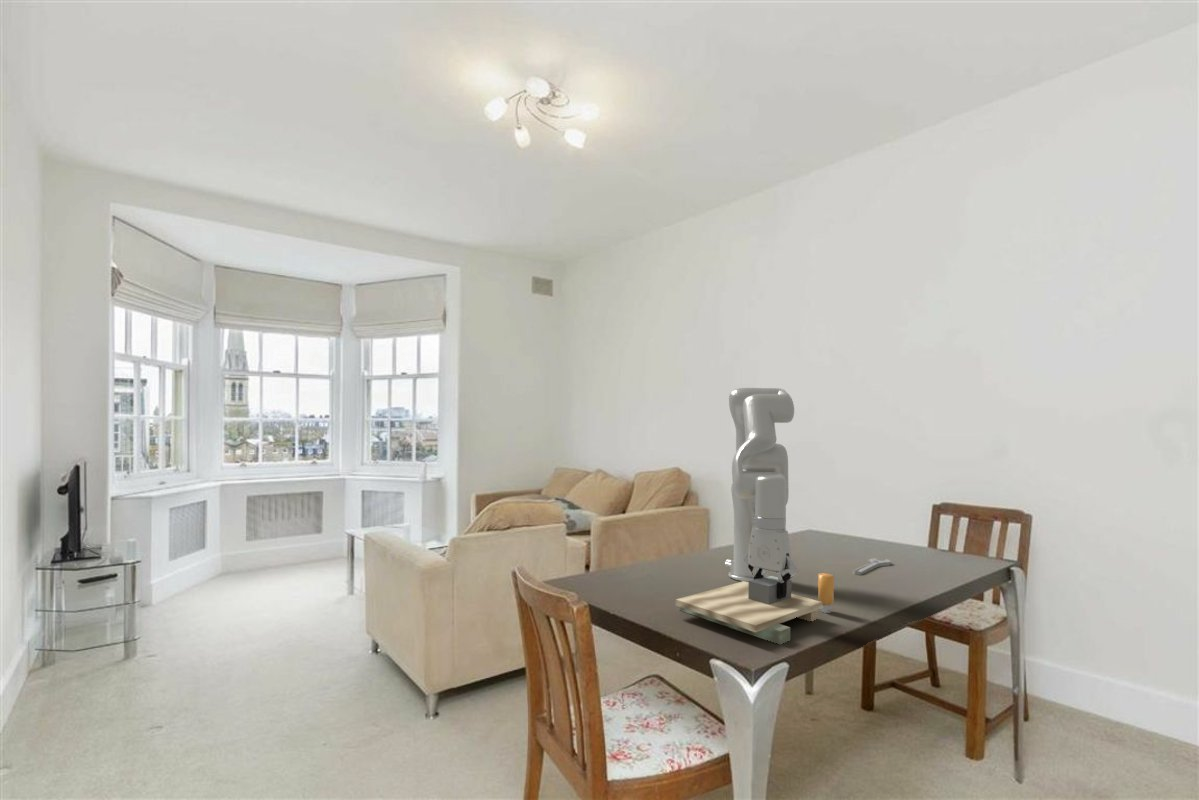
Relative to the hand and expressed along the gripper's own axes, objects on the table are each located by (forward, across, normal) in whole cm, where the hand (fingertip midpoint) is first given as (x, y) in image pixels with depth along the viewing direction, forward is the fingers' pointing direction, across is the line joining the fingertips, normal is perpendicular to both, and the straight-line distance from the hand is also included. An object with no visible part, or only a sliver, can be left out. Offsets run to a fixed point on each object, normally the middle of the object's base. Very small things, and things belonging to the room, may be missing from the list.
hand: (769, 593), depth 155 cm
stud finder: (+1, 0, 0) cm, 1 cm away
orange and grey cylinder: (+6, +7, +15) cm, 17 cm away
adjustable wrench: (+6, -8, +71) cm, 72 cm away
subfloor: (+6, -2, -6) cm, 8 cm away
